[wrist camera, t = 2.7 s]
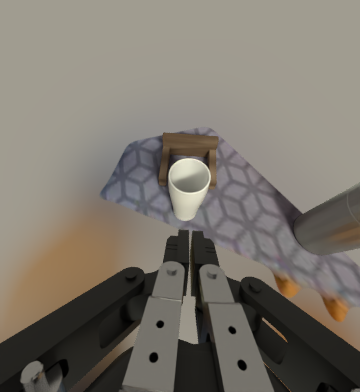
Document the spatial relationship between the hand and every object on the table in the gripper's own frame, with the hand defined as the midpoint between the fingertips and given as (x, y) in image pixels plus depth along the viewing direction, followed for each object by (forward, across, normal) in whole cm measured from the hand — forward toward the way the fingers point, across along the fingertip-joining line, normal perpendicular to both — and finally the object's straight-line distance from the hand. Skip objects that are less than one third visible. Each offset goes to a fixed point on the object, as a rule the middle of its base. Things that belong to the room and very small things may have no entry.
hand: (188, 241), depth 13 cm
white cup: (+27, 0, +10) cm, 29 cm away
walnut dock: (+35, 0, +2) cm, 35 cm away
